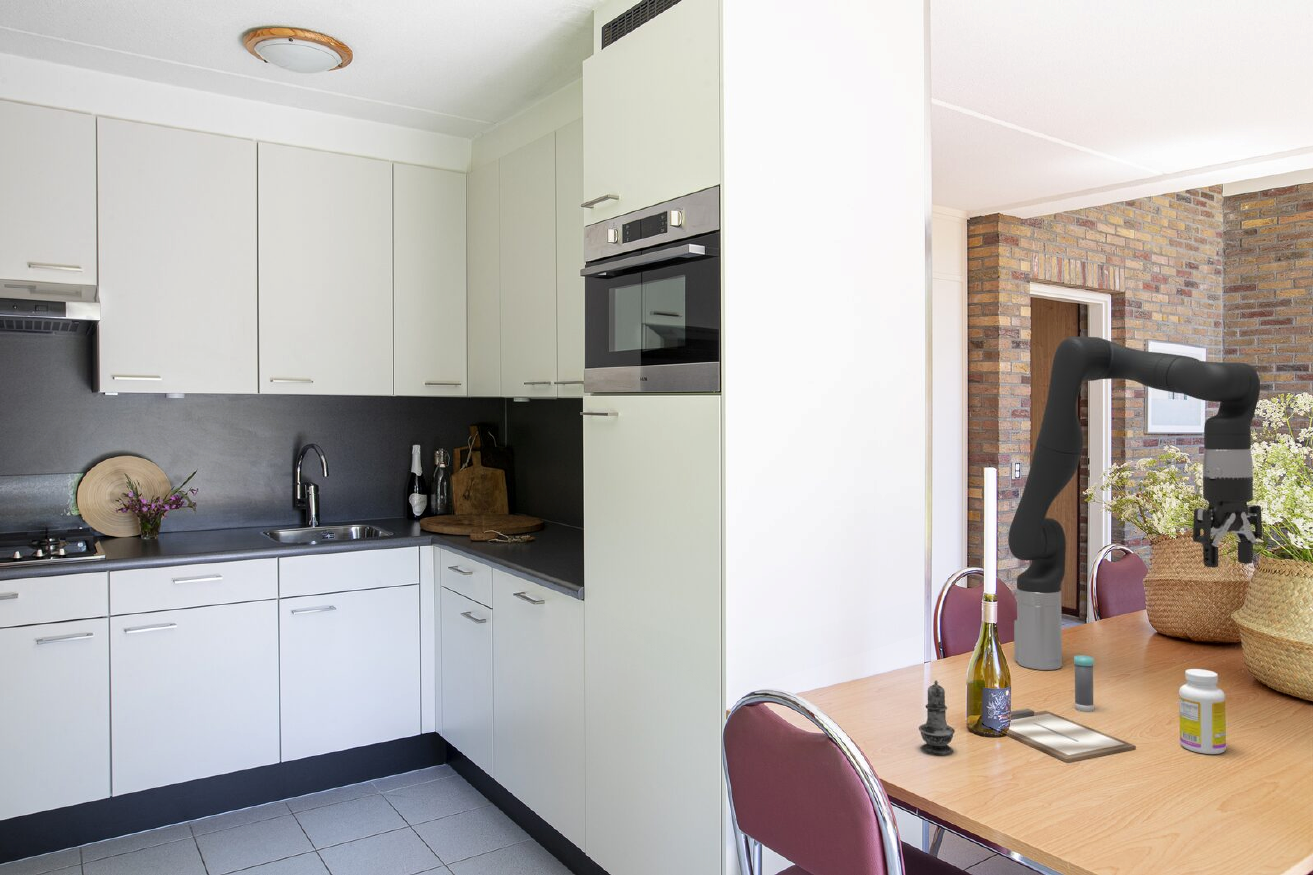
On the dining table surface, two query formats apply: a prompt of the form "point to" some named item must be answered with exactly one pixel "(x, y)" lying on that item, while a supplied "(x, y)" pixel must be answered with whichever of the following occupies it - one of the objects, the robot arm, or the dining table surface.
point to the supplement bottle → (1202, 713)
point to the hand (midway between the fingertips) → (1228, 565)
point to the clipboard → (1062, 736)
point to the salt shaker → (936, 724)
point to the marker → (1084, 683)
